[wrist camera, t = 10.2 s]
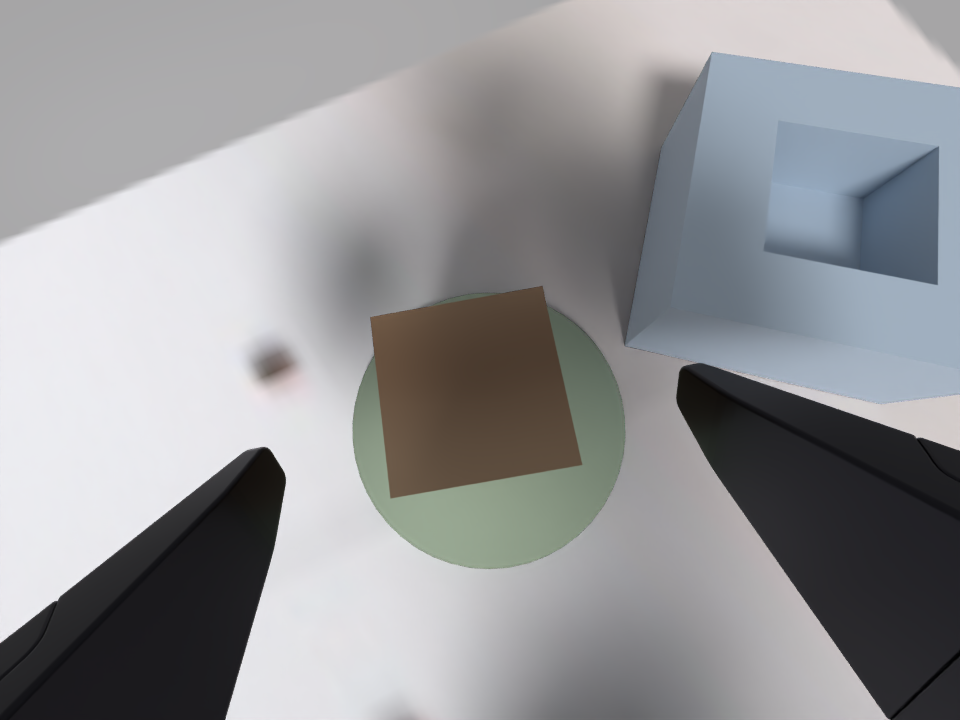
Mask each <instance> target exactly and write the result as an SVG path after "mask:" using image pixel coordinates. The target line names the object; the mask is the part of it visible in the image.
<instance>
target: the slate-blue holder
mask: <svg viewBox="0 0 960 720" xmlns="http://www.w3.org/2000/svg"><path fill="white" fill-rule="evenodd" d="M625 346H627V347H632V348H636V349H641V350H645V351H649V352H654V353H658V354H663V355H667V356H671V357H676V358H680V359H685V360H689V361H693V362H698V363H704V364H707V365H711V366H715V367H720V368H724V369H729V370H733V371H737V372H742V373H746V374H751V375H755V376H759V377H764V378H768V379H773V380H777V381H781V382H786V383H790V384H794V385H799V386H803V387H808V388H812V389H816V390H821V391H825V392H830V393H834V394H838V395H843V396H847V397H852V398H856V399H860V400H865V401H869V402H874V403H878V404H886V403H894V402H902V401H910V400H919V399H927V398H935V397H943V396H951V395H960V88H959V87H952V86H945V85H938V84H931V83H924V82H917V81H910V80H903V79H896V78H889V77H883V76H876V75H869V74H862V73H855V72H848V71H841V70H834V69H827V68H820V67H813V66H806V65H799V64H792V63H785V62H779V61H772V60H765V59H758V58H751V57H744V56H737V55H730V54H723V53H716V52H712V53H711V55H710V57H709V59H708V60H707V62H706V64H705V66H704V68H703V70H702V72H701V74H700V76H699V77H698V79H697V81H696V83H695V85H694V87H693V89H692V91H691V93H690V94H689V96H688V98H687V100H686V102H685V104H684V106H683V108H682V110H681V111H680V113H679V115H678V117H677V119H676V121H675V123H674V125H673V127H672V128H671V130H670V132H669V134H668V136H667V138H666V140H665V142H664V144H663V146H662V147H661V153H660V158H659V164H658V169H657V174H656V180H655V185H654V190H653V196H652V201H651V207H650V212H649V217H648V223H647V228H646V234H645V239H644V244H643V250H642V255H641V260H640V266H639V271H638V277H637V282H636V287H635V293H634V298H633V304H632V309H631V314H630V320H629V325H628V331H627V336H626V341H625Z"/></svg>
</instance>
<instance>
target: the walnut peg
mask: <svg viewBox="0 0 960 720" xmlns="http://www.w3.org/2000/svg"><path fill="white" fill-rule="evenodd" d="M370 319H371V328H372V337H373V346H374V355H375V364H376V373H377V382H378V391H379V400H380V409H381V418H382V427H383V436H384V445H385V454H386V463H387V472H388V481H389V490H390V499H391V498H397V497H402V496H408V495H414V494H420V493H425V492H431V491H437V490H442V489H448V488H454V487H460V486H465V485H471V484H477V483H483V482H488V481H494V480H500V479H506V478H511V477H517V476H523V475H528V474H534V473H540V472H546V471H551V470H557V469H563V468H569V467H574V466H580V465H582V461H581V456H580V452H579V447H578V443H577V438H576V434H575V429H574V425H573V421H572V416H571V412H570V407H569V403H568V398H567V394H566V389H565V385H564V380H563V376H562V371H561V367H560V363H559V358H558V354H557V349H556V345H555V340H554V336H553V331H552V327H551V322H550V318H549V313H548V309H547V305H546V300H545V296H544V291H543V287H542V286H540V287H534V288H529V289H523V290H518V291H512V292H507V293H501V294H496V295H490V296H485V297H479V298H474V299H468V300H463V301H457V302H451V303H446V304H440V305H435V306H429V307H424V308H418V309H413V310H407V311H402V312H396V313H391V314H385V315H380V316H374V317H370Z"/></svg>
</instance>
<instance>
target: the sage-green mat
mask: <svg viewBox="0 0 960 720" xmlns="http://www.w3.org/2000/svg"><path fill="white" fill-rule="evenodd" d="M496 294H501V293H477V294H467V295H463V296H458V297H454V298H450V299H447V300H445V301H442V302H439V303H436V304H434V305H432V306H435V305H440V304H446V303H451V302H457V301H463V300H468V299H474V298H479V297H485V296H490V295H496ZM547 309H548V313H549V318H550V322H551V327H552V331H553V336H554V340H555V345H556V349H557V354H558V358H559V363H560V367H561V371H562V376H563V380H564V385H565V389H566V394H567V398H568V403H569V407H570V412H571V416H572V421H573V425H574V429H575V434H576V438H577V443H578V447H579V452H580V456H581V461H582V465H580V466H574V467H569V468H563V469H557V470H551V471H546V472H540V473H534V474H528V475H523V476H517V477H511V478H506V479H500V480H494V481H488V482H483V483H477V484H471V485H465V486H460V487H454V488H448V489H442V490H437V491H431V492H425V493H420V494H414V495H408V496H402V497H397V498H391V499H390V490H389V481H388V472H387V463H386V454H385V445H384V436H383V427H382V418H381V409H380V400H379V391H378V382H377V373H376V364H375V356H374V357H373V359H372V361H371V363H370V364H369V366H368V368H367V370H366V372H365V374H364V377H363V379H362V382H361V385H360V387H359V391H358V395H357V399H356V403H355V408H354V416H353V446H354V453H355V459H356V463H357V467H358V470H359V474H360V477H361V480H362V482H363V484H364V487H365V489H366V492H367V494H368V495H369V497H370V499H371V501H372V502H373V504H374V506H375V507H376V509H377V510H378V512H379V513H380V514H381V515H382V517H383V518H384V519H385V521H386V522H387V523H388V524H389V525H390V526H391V527H392V528H393V529H394V530H395V531H396V532H397V533H398V534H399V535H400V536H401V537H402V538H404V539H405V540H406V541H408V542H409V543H411V544H412V545H413V546H415V547H416V548H418V549H419V550H421V551H423V552H425V553H427V554H429V555H431V556H432V557H435V558H437V559H440V560H443V561H445V562H448V563H451V564H455V565H460V566H464V567H469V568H481V569H497V568H509V567H514V566H518V565H523V564H527V563H530V562H533V561H535V560H538V559H541V558H543V557H546V556H548V555H549V554H551V553H553V552H555V551H557V550H559V549H560V548H562V547H564V546H565V545H566V544H568V543H569V542H570V541H572V540H573V539H574V538H576V537H577V536H578V535H579V534H580V533H581V532H582V531H583V530H584V529H585V528H586V527H587V526H588V525H589V524H590V523H591V522H592V521H593V519H594V518H595V517H596V515H597V514H598V513H599V511H600V510H601V509H602V507H603V506H604V504H605V502H606V500H607V499H608V497H609V495H610V493H611V491H612V489H613V487H614V484H615V482H616V479H617V476H618V474H619V471H620V466H621V462H622V458H623V453H624V443H625V416H624V410H623V404H622V399H621V395H620V392H619V389H618V386H617V382H616V380H615V378H614V375H613V373H612V371H611V369H610V367H609V365H608V363H607V361H606V360H605V358H604V357H603V355H602V353H601V352H600V350H599V349H598V348H597V347H596V345H595V344H594V343H593V342H592V340H591V339H590V338H589V337H588V336H587V335H586V334H585V333H584V332H583V331H582V330H581V329H580V328H579V327H578V326H577V325H576V324H574V323H573V322H572V321H570V320H569V319H568V318H566V317H565V316H564V315H562V314H560V313H559V312H557V311H555V310H553V309H552V308H550V307H548V306H547Z"/></svg>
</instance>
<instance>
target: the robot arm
mask: <svg viewBox="0 0 960 720" xmlns="http://www.w3.org/2000/svg"><path fill="white" fill-rule="evenodd" d="M676 399H677V404H678V407H679V409H680V411H681V413H682V415H683V417H684V418H685V420H686V422H687V424H688V426H689V427H690V429H691V431H692V433H693V435H694V437H695V438H696V440H697V442H698V444H699V446H700V448H701V449H702V451H703V453H704V455H705V457H706V458H707V460H708V462H709V464H710V465H711V467H712V468H713V470H714V471H715V473H716V474H717V476H718V477H719V479H720V480H721V482H722V483H723V485H724V486H725V487H726V489H727V490H728V492H729V493H730V495H731V496H732V497H733V499H734V500H735V502H736V503H737V505H738V506H739V507H740V509H741V510H742V512H743V513H744V515H745V516H746V517H747V519H748V520H749V522H750V523H751V525H752V526H753V527H754V529H755V530H756V532H757V533H758V535H759V536H760V537H761V539H762V540H763V542H764V543H765V544H766V546H767V547H768V549H769V550H770V552H771V553H772V554H773V556H774V557H775V559H776V560H777V562H778V563H779V564H780V566H781V567H782V569H783V570H784V572H785V573H786V574H787V576H788V577H789V579H790V580H791V582H792V583H793V584H794V586H795V587H796V589H797V590H798V592H799V593H800V594H801V596H802V597H803V599H804V600H805V602H806V603H807V604H808V606H809V607H810V609H811V610H812V612H813V613H814V614H815V616H816V617H817V619H818V620H819V621H820V623H821V624H822V626H823V627H824V629H825V630H826V631H827V633H828V634H829V636H830V637H831V639H832V640H833V641H834V643H835V644H836V646H837V647H838V649H839V650H840V651H841V653H842V654H843V656H844V657H845V659H846V660H847V661H848V663H849V664H850V666H851V667H852V669H853V670H854V671H855V673H856V674H857V676H858V677H859V679H860V680H861V681H862V683H863V684H864V686H865V687H866V689H867V690H868V691H869V693H870V694H871V696H872V697H873V699H874V700H875V701H876V703H877V704H878V706H879V707H880V708H881V710H882V711H883V713H884V714H885V716H886V717H887V718H888V719H890V720H960V451H959V450H956V449H953V448H950V447H947V446H944V445H941V444H938V443H936V442H933V441H930V440H927V439H924V438H917V439H916V437H915V436H914V435H912V434H909V433H906V432H903V431H900V430H897V429H894V428H891V427H888V426H886V425H883V424H880V423H877V422H874V421H871V420H868V419H865V418H862V417H859V416H856V415H853V414H850V413H847V412H844V411H842V410H839V409H836V408H833V407H830V406H827V405H824V404H821V403H818V402H815V401H812V400H809V399H806V398H803V397H801V396H798V395H795V394H792V393H789V392H786V391H783V390H780V389H777V388H774V387H771V386H768V385H765V384H762V383H760V382H757V381H754V380H751V379H748V378H745V377H742V376H739V375H736V374H733V373H730V372H727V371H724V370H721V369H719V368H716V367H713V366H710V365H707V364H704V363H697V364H692V365H687V366H683V367H682V368H681V369H680V372H679V379H678V387H677V396H676ZM285 485H286V477H285V473H284V471H283V469H282V468H281V466H280V465H279V463H278V461H277V460H276V458H275V457H274V455H273V453H272V452H271V450H270V449H268V448H267V447H260V448H255V449H250V450H247V451H245V452H243V453H242V454H241V455H239V456H238V457H237V458H236V459H234V460H233V461H232V462H230V463H229V464H228V465H227V466H225V467H224V468H223V469H222V470H220V471H219V472H218V473H217V474H215V475H214V476H213V477H211V478H210V479H209V480H208V481H206V482H205V483H204V484H203V485H201V486H200V487H199V488H197V489H196V490H195V491H194V492H192V493H191V494H190V495H189V496H187V497H186V498H185V499H183V500H182V501H181V502H180V503H178V504H177V505H176V506H175V507H173V508H172V509H171V510H170V511H168V512H167V513H166V514H164V515H163V516H162V517H161V518H159V519H158V520H157V521H156V522H154V523H153V524H152V525H150V526H149V527H148V528H147V529H145V530H144V531H143V532H142V533H140V534H139V535H138V536H137V537H135V538H134V539H133V540H131V541H130V542H129V543H128V544H126V545H125V546H124V547H123V548H121V549H120V550H119V551H117V552H116V553H115V554H114V555H112V556H111V557H110V558H109V559H107V560H106V561H105V562H103V563H102V564H101V565H100V566H98V567H97V568H96V569H95V570H93V571H92V572H91V573H90V574H88V575H87V576H86V577H84V578H83V579H82V580H81V581H79V582H78V583H77V584H76V585H74V586H73V587H72V588H70V589H69V590H68V591H67V592H65V593H64V594H63V595H62V596H60V598H59V599H58V601H54V602H53V603H51V604H50V605H49V606H47V607H46V608H45V609H44V610H42V611H41V612H40V613H39V614H37V615H36V616H35V617H34V618H32V619H31V620H30V621H28V622H27V623H26V624H25V625H23V626H22V627H21V628H19V629H18V630H17V631H16V632H14V633H13V634H12V635H10V636H9V637H8V638H6V639H5V640H4V641H3V642H1V643H0V720H225V719H226V715H227V712H228V708H229V705H230V701H231V698H232V694H233V691H234V687H235V684H236V680H237V677H238V674H239V670H240V667H241V663H242V660H243V656H244V653H245V649H246V646H247V642H248V639H249V635H250V632H251V628H252V625H253V621H254V618H255V614H256V611H257V607H258V604H259V600H260V597H261V594H262V590H263V587H264V583H265V580H266V576H267V573H268V569H269V566H270V562H271V558H272V554H273V551H274V546H275V541H276V536H277V530H278V525H279V519H280V513H281V508H282V502H283V496H284V491H285Z"/></svg>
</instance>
